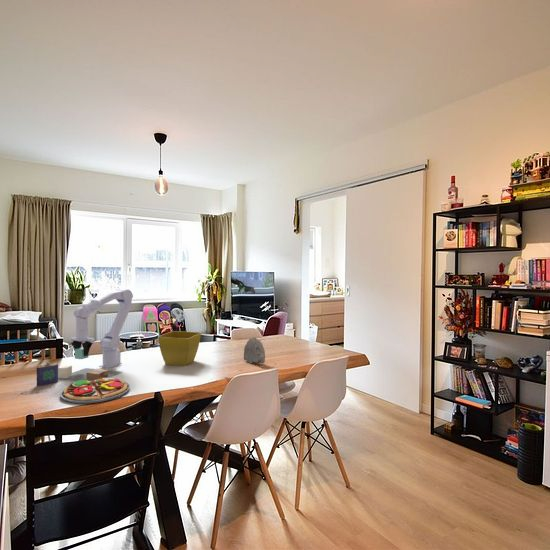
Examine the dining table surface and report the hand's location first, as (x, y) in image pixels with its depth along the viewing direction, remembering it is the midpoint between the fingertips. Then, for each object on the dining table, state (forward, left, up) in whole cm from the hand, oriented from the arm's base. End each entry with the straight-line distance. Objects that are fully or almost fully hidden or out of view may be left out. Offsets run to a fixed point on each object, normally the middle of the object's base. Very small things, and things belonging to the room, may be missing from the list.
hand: (82, 355), depth 192 cm
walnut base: (+6, +15, -9) cm, 18 cm away
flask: (+21, 0, -9) cm, 23 cm away
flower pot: (-33, +39, -9) cm, 52 cm away
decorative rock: (-46, +81, -9) cm, 94 cm away
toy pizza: (+24, +30, -9) cm, 39 cm away
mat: (+4, +9, -9) cm, 13 cm away
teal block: (0, 0, -1) cm, 1 cm away
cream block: (+10, -1, -9) cm, 13 cm away
